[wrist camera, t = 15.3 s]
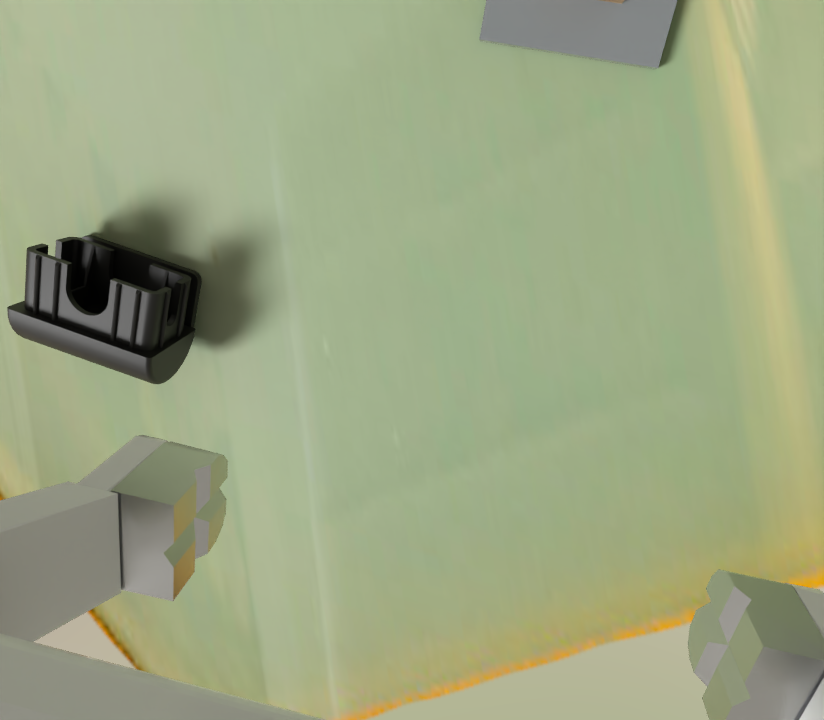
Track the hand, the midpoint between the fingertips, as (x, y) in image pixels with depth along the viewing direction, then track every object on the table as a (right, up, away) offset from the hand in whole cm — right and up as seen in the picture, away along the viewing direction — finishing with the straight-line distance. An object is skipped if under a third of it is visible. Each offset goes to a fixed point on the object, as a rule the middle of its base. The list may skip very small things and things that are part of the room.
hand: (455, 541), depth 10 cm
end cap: (-21, +8, +35) cm, 41 cm away
